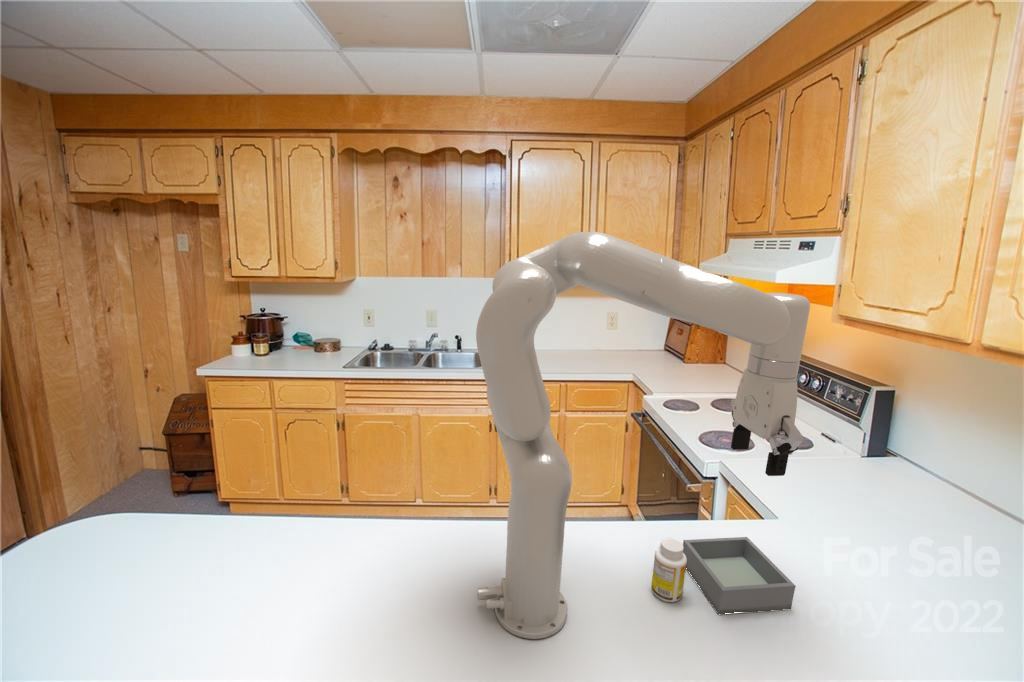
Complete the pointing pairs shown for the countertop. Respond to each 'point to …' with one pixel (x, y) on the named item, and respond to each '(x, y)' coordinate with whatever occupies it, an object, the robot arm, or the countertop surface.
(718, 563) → the tray
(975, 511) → the countertop surface
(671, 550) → the supplement bottle
